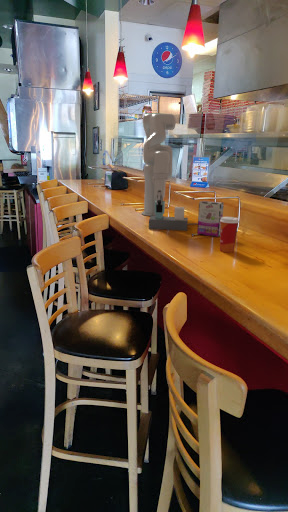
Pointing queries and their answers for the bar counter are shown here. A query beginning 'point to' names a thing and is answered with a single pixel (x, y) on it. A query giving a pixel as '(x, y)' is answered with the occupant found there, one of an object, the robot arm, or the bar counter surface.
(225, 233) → the paper cup
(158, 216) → the teal plug
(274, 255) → the bar counter surface
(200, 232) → the candy bar box
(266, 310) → the bar counter surface
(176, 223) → the block
